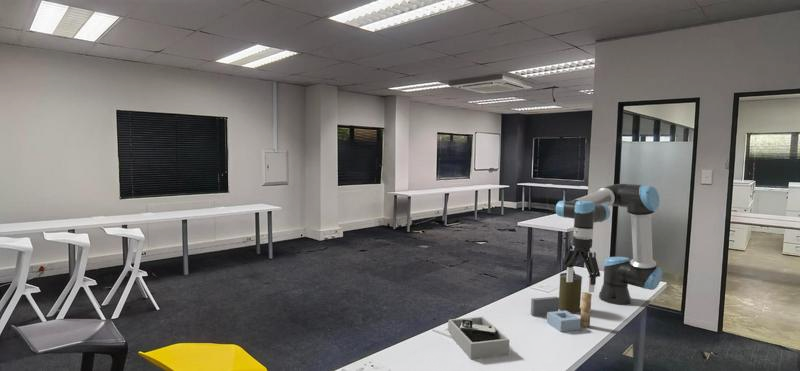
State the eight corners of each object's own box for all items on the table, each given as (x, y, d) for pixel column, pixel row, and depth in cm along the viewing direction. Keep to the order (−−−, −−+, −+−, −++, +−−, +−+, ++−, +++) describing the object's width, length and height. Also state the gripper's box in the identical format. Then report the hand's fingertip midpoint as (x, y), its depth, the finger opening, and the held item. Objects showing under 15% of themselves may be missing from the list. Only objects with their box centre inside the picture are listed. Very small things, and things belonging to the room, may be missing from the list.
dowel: (585, 323, 190) (587, 292, 189) (591, 327, 186) (593, 295, 185) (578, 324, 189) (579, 292, 188) (584, 328, 185) (586, 295, 184)
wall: (555, 312, 203) (556, 296, 202) (558, 313, 201) (559, 297, 201) (530, 314, 200) (531, 298, 199) (533, 316, 198) (533, 300, 197)
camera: (497, 342, 169) (498, 318, 168) (495, 350, 162) (496, 325, 161) (460, 336, 174) (461, 313, 173) (457, 343, 167) (458, 319, 166)
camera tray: (482, 329, 181) (482, 316, 181) (508, 354, 159) (509, 339, 159) (447, 333, 177) (448, 319, 177) (470, 359, 155) (471, 343, 154)
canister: (582, 314, 201) (584, 274, 199) (559, 312, 203) (562, 272, 201) (577, 306, 212) (579, 268, 210) (556, 304, 214) (558, 266, 212)
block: (565, 320, 193) (566, 310, 192) (579, 329, 183) (580, 318, 183) (546, 322, 190) (547, 312, 190) (560, 331, 181) (561, 320, 180)
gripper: (556, 232, 185) (554, 278, 187) (596, 244, 161) (592, 297, 163) (571, 231, 187) (568, 277, 189) (612, 243, 163) (608, 296, 164)
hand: (579, 286), depth 176 cm, fingers open, 13 cm apart
